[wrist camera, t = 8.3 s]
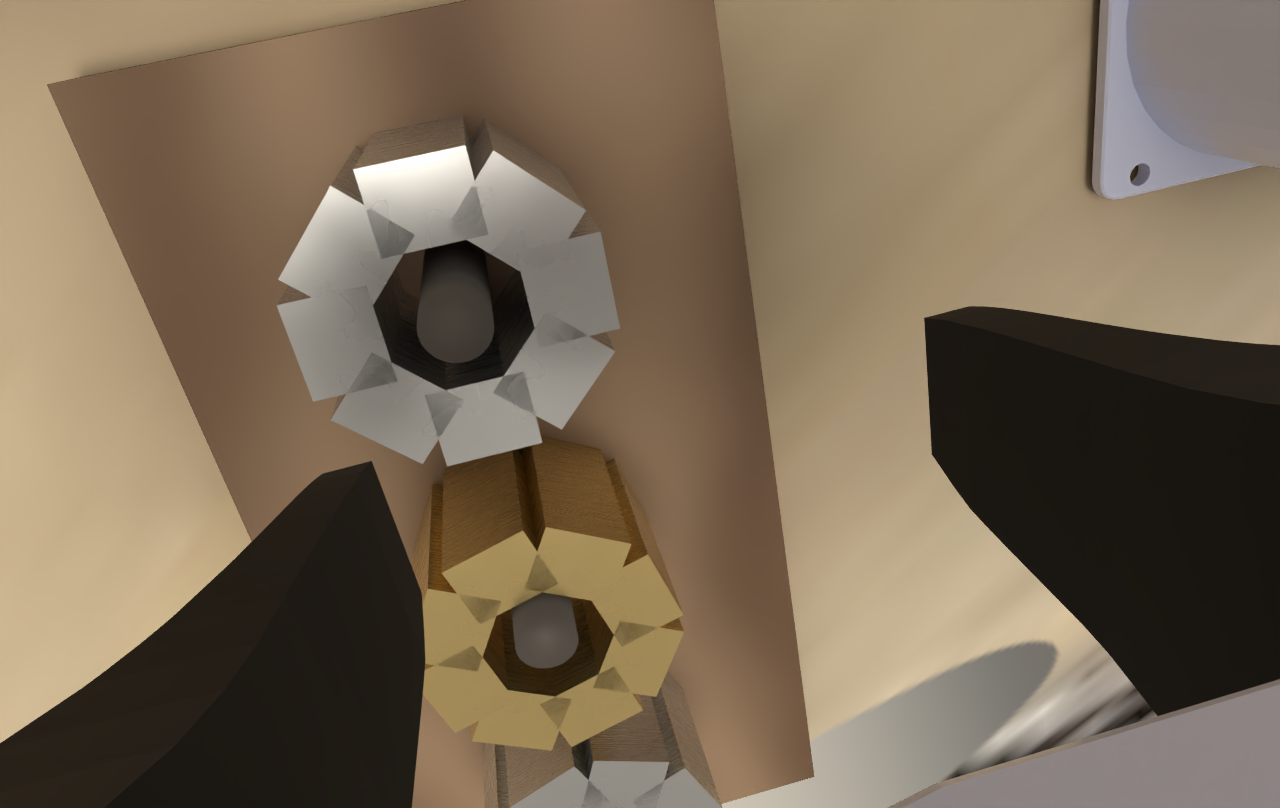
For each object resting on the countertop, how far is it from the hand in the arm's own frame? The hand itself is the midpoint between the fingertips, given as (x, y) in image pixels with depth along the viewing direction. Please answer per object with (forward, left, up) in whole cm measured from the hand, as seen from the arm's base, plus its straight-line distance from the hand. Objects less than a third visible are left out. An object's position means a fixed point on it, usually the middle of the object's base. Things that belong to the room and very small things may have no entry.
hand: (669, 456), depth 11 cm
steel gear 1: (+3, -1, -8) cm, 9 cm away
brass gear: (+3, +6, -8) cm, 11 cm away
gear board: (+3, +6, -10) cm, 11 cm away
